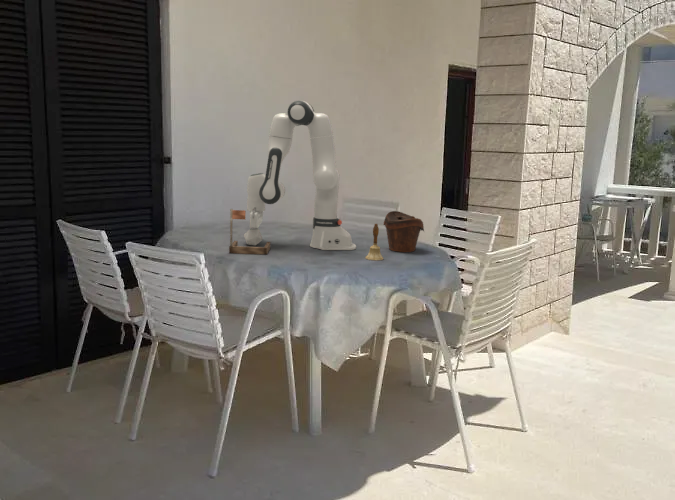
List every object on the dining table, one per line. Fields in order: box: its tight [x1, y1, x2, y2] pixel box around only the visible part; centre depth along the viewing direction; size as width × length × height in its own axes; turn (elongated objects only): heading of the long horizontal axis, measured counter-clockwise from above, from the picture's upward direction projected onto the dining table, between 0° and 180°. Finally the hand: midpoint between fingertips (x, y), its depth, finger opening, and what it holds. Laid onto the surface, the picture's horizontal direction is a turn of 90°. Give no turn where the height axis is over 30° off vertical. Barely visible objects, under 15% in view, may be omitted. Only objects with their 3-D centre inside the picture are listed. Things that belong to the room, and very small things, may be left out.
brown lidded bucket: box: [383, 210, 425, 253], centre depth 324 cm, size 18×20×18 cm
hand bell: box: [364, 223, 384, 261], centre depth 301 cm, size 8×8×16 cm
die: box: [243, 228, 264, 247], centre depth 324 cm, size 8×9×10 cm
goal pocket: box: [228, 208, 271, 256], centre depth 308 cm, size 17×16×20 cm
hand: (255, 234), depth 329 cm, fingers closed
